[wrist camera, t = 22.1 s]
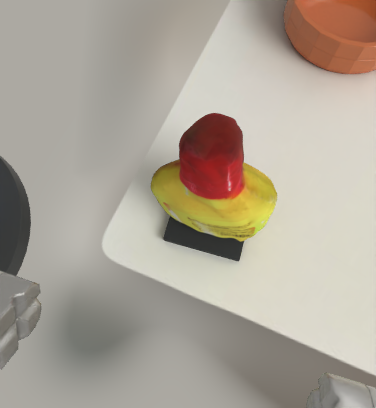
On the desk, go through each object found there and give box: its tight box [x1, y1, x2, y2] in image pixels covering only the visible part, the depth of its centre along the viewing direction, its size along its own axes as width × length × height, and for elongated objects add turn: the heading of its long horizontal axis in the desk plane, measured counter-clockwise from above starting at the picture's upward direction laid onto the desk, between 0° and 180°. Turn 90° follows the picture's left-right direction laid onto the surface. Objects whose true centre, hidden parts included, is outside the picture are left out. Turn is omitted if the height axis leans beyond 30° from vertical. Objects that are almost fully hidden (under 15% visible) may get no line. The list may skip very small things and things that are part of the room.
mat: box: [163, 216, 244, 261], centre depth 40 cm, size 9×9×1 cm
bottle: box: [151, 113, 277, 242], centre depth 30 cm, size 12×6×20 cm, turn 75°
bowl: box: [283, 0, 376, 74], centre depth 45 cm, size 17×17×6 cm
